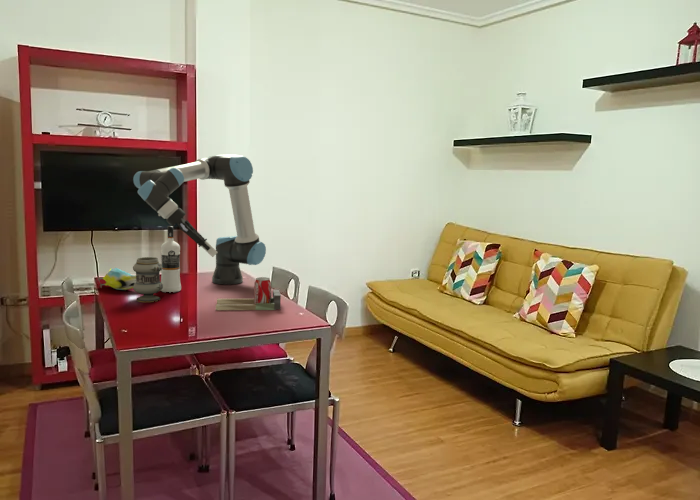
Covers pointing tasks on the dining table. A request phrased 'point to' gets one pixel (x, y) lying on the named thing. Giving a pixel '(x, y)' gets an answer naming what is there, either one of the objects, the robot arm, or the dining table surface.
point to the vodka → (170, 264)
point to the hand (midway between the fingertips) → (215, 254)
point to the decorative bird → (119, 279)
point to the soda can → (262, 290)
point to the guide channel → (249, 303)
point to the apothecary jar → (147, 278)
